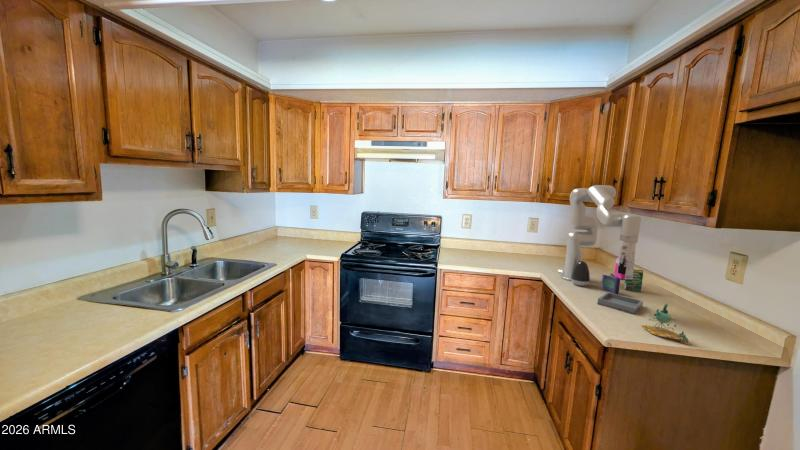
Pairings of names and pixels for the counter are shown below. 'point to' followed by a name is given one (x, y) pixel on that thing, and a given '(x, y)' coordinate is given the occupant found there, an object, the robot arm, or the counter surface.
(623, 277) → the supplement box
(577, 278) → the dark grey domed cylinder
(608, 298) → the tray
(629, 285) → the coffee box
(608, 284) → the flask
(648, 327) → the frog figurine
